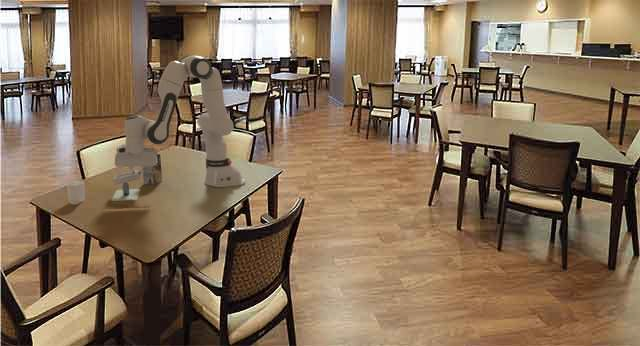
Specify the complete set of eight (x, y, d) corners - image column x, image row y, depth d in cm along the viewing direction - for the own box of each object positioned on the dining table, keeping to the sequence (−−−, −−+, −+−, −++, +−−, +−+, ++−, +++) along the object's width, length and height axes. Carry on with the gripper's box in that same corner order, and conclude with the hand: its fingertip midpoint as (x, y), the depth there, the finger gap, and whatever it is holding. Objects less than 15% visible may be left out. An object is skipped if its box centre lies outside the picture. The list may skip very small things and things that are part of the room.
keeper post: (129, 193, 260) (128, 181, 258) (129, 195, 257) (128, 183, 256) (123, 193, 260) (122, 181, 258) (122, 195, 257) (121, 183, 255)
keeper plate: (141, 190, 268) (140, 188, 268) (136, 201, 252) (136, 199, 251) (117, 191, 266) (116, 189, 266) (110, 202, 249) (110, 200, 249)
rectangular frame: (141, 175, 261) (139, 169, 260) (139, 179, 254) (137, 173, 253) (117, 180, 259) (115, 175, 258) (114, 185, 252) (112, 179, 251)
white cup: (72, 199, 252) (69, 180, 249) (88, 199, 253) (86, 180, 250) (65, 205, 244) (63, 185, 242) (82, 205, 245) (80, 185, 242)
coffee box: (152, 180, 286) (150, 153, 281) (162, 181, 284) (160, 154, 280) (143, 185, 277) (141, 157, 273) (154, 186, 276) (152, 158, 271)
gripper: (157, 145, 258) (159, 172, 262) (115, 146, 254) (117, 173, 258) (156, 148, 252) (158, 175, 256) (112, 149, 248) (115, 176, 252)
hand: (137, 174), depth 257 cm, fingers closed on rectangular frame, 2 cm apart
